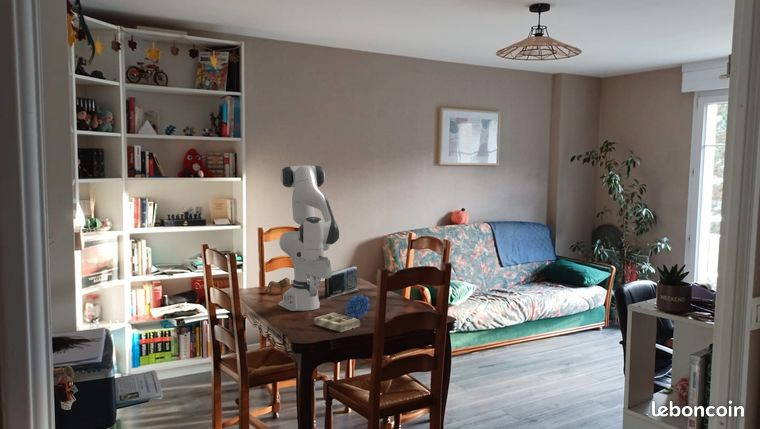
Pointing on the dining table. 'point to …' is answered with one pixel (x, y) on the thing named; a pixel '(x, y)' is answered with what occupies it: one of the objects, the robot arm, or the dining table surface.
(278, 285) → the lion figurine
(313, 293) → the plug
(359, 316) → the grapes
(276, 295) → the dining table surface
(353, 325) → the socket block
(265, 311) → the dining table surface
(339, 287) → the radio
